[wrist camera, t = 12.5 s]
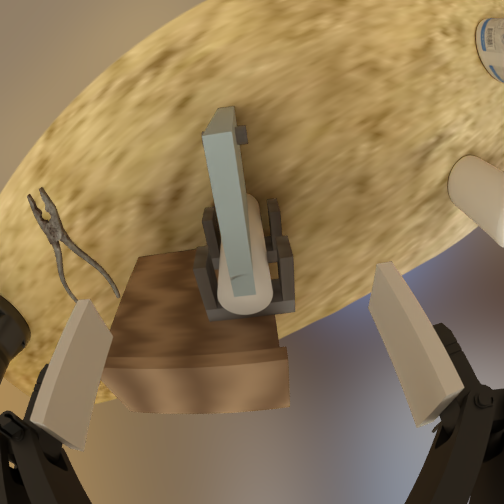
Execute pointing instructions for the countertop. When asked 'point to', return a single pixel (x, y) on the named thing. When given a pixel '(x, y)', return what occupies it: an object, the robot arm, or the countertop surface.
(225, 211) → the door
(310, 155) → the countertop surface
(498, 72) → the supplement tub
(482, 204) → the pill bottle
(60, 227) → the pliers
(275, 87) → the countertop surface
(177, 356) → the cabinet
